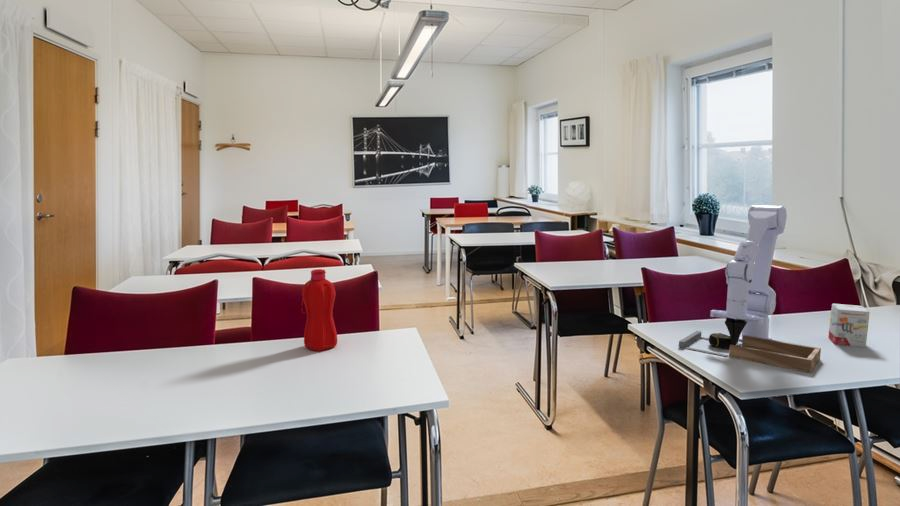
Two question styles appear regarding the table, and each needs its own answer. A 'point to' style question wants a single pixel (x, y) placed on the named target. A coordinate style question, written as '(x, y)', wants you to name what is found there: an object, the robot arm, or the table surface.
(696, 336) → the bay
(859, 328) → the ink box
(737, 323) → the robot arm
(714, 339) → the tape measure
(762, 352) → the open frame
